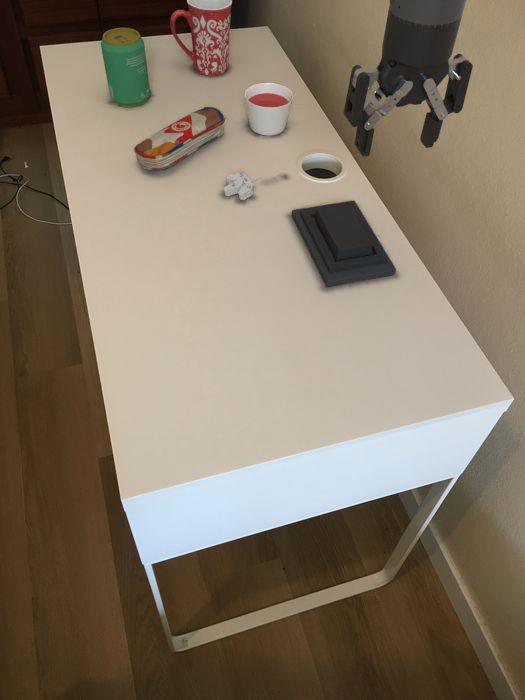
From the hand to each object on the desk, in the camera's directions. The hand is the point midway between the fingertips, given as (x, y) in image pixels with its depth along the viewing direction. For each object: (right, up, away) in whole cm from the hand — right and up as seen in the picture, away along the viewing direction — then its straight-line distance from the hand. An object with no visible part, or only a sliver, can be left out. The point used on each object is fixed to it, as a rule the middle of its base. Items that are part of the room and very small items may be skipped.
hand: (395, 148), depth 72 cm
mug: (-29, +36, +53) cm, 70 cm away
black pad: (-4, -8, +18) cm, 20 cm away
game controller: (-18, +3, +28) cm, 33 cm away
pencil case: (-31, +12, +34) cm, 47 cm away
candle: (-16, +18, +40) cm, 46 cm away
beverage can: (-43, +26, +44) cm, 67 cm away
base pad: (-4, -8, +19) cm, 21 cm away
